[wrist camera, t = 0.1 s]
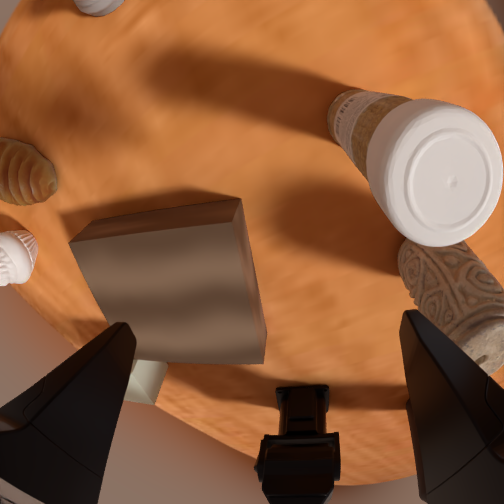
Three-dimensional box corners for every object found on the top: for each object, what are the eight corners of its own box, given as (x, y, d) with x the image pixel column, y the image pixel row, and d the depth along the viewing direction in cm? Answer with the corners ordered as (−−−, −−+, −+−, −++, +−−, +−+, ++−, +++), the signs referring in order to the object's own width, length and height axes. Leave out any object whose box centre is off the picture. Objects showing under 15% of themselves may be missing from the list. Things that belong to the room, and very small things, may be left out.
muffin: (36, 272, 30) (3, 309, 24) (7, 235, 28) (-30, 267, 22) (55, 249, 28) (16, 288, 22) (22, 207, 25) (-21, 240, 19)
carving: (422, 295, 25) (464, 401, 15) (375, 250, 24) (417, 369, 13) (471, 251, 22) (535, 347, 12) (430, 197, 21) (512, 294, 10)
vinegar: (429, 409, 36) (448, 524, 19) (396, 408, 36) (410, 534, 19) (457, 385, 33) (486, 508, 16) (423, 382, 32) (449, 521, 16)
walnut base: (267, 332, 30) (263, 364, 26) (142, 332, 32) (130, 359, 29) (241, 198, 23) (231, 222, 19) (92, 221, 25) (68, 243, 22)
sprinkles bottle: (359, 164, 20) (436, 276, 9) (311, 120, 19) (347, 184, 8) (401, 120, 18) (525, 187, 7) (355, 74, 17) (455, 70, 5)
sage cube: (168, 365, 35) (154, 404, 30) (129, 362, 36) (112, 397, 31) (150, 332, 32) (131, 373, 27) (109, 330, 33) (88, 367, 28)
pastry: (62, 143, 22) (34, 157, 18) (62, 210, 25) (39, 229, 22) (2, 133, 21) (-24, 144, 18) (5, 191, 25) (-18, 206, 22)
